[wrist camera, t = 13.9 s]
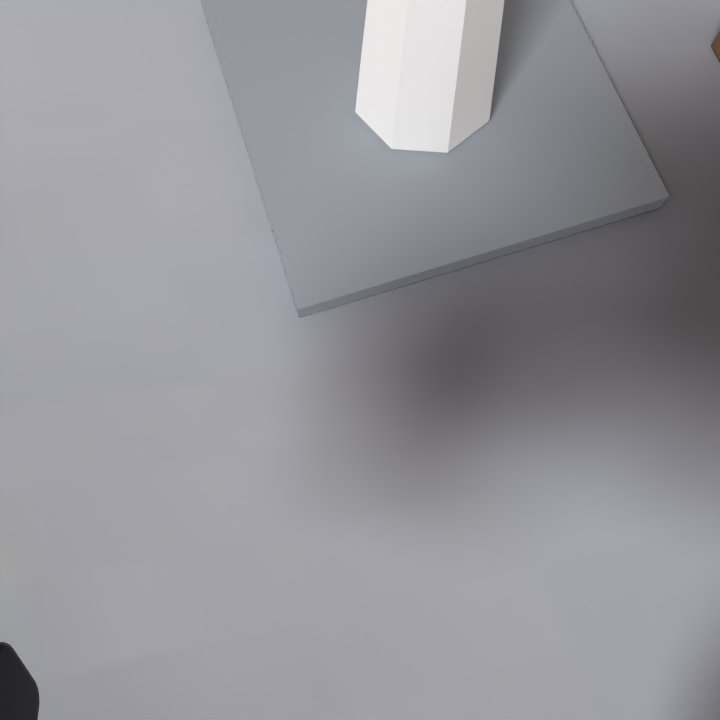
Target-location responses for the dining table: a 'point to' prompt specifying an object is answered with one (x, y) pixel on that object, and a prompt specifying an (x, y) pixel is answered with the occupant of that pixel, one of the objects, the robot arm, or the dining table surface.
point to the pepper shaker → (428, 70)
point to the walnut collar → (716, 46)
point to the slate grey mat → (422, 168)
